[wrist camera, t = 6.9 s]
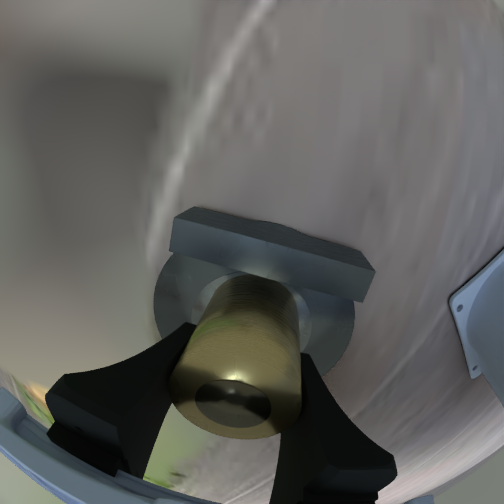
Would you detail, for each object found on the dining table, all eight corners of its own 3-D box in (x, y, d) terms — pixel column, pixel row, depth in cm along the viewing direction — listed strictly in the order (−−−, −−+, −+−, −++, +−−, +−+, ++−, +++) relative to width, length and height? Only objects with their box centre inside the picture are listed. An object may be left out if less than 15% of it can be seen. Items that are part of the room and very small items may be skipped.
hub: (316, 322, 14) (327, 415, 8) (248, 362, 15) (230, 450, 9) (258, 255, 13) (237, 332, 7) (191, 306, 14) (143, 386, 8)
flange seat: (171, 197, 13) (140, 209, 10) (382, 253, 13) (406, 280, 10) (155, 358, 17) (135, 391, 14) (310, 400, 17) (312, 437, 14)
